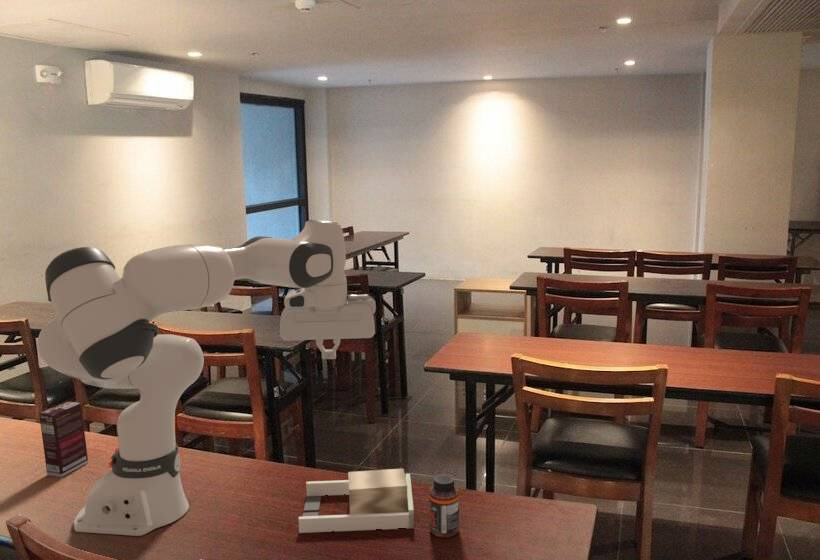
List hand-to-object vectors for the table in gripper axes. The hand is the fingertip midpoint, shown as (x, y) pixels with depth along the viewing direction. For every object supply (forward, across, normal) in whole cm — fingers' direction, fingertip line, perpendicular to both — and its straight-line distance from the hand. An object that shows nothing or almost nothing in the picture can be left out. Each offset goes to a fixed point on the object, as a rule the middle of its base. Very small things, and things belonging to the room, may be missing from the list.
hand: (329, 358), depth 148 cm
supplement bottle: (+31, -23, +18) cm, 43 cm away
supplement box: (+31, +66, -17) cm, 75 cm away
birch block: (+31, -10, +8) cm, 34 cm away
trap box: (+31, -5, +8) cm, 33 cm away
